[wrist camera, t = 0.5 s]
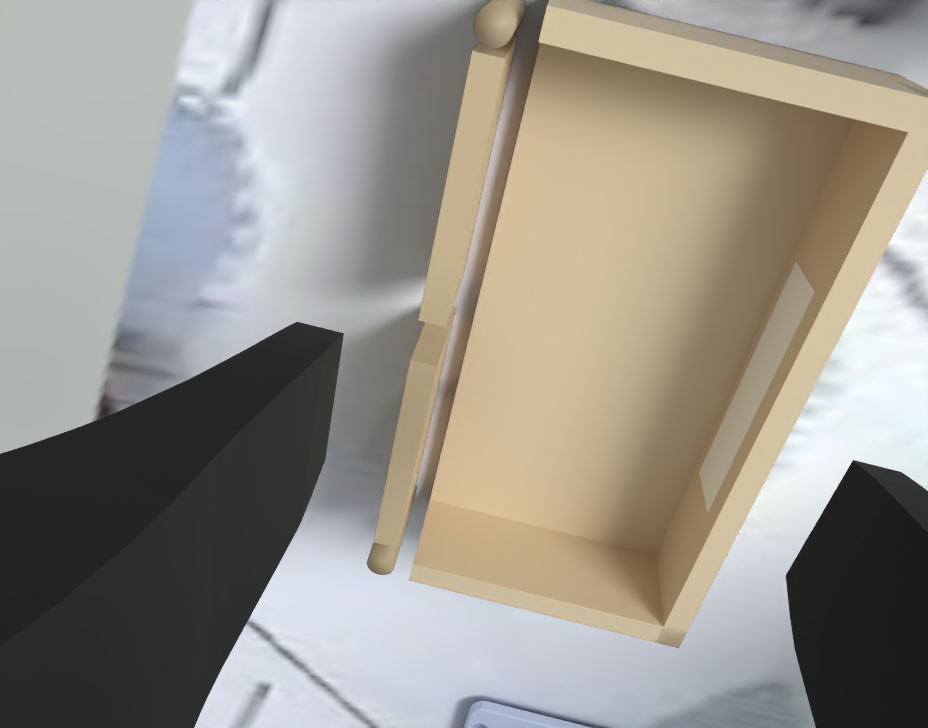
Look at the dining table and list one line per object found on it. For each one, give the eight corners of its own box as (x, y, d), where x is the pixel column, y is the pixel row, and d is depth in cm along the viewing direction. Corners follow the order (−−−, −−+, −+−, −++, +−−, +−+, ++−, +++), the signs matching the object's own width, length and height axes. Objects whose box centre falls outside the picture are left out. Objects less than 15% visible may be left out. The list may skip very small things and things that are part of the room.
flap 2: (496, -15, 16) (478, 0, 13) (529, -7, 16) (518, 10, 13) (438, 266, 19) (414, 324, 17) (466, 272, 19) (446, 332, 17)
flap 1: (414, 498, 23) (391, 577, 20) (391, 492, 23) (365, 570, 20) (457, 308, 20) (437, 371, 17) (430, 301, 20) (406, 364, 17)
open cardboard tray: (668, 566, 23) (679, 648, 20) (428, 506, 23) (409, 580, 20) (899, 74, 16) (961, 105, 13) (552, -9, 16) (546, 5, 13)
